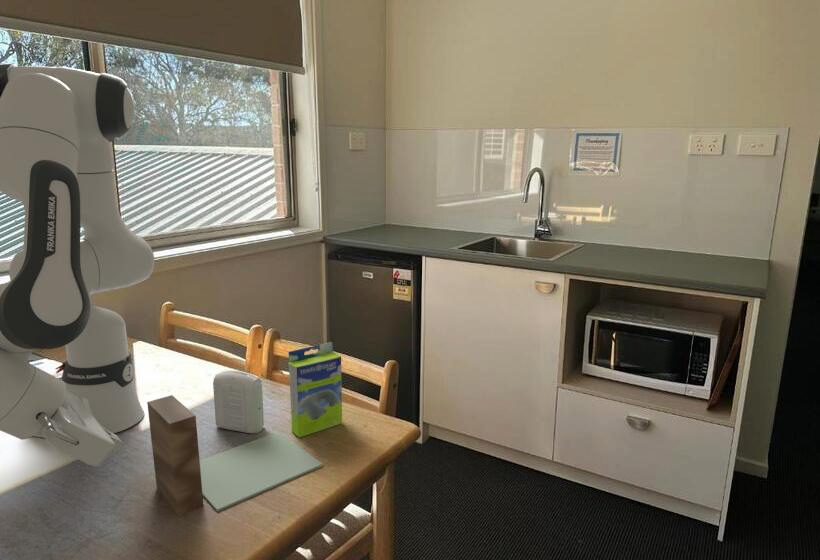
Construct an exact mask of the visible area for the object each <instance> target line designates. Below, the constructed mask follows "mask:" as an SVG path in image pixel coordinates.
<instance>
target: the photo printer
mask: <svg viewBox="0 0 820 560" xmlns="http://www.w3.org/2000/svg"><path fill="white" fill-rule="evenodd" d="M212 386H213V387H212V388H213V400H214V401H213V403H214V415H215V416H214V417H215V418H214V419H215V426H216V427H217V428H221V429H225V430H230V431H236V432H240V433H248V434H258V433H260V432H262V430H263V428H264V422H265V421H264V417H265V416H264V398H263V383H262V380H261V379H260V378H259V377H258V376H256V375H254V374H252V373H249V372H245V371H240V370H224V371H220V372H218V373H216V374H215V375H214V377H213V382H212Z"/></svg>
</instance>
